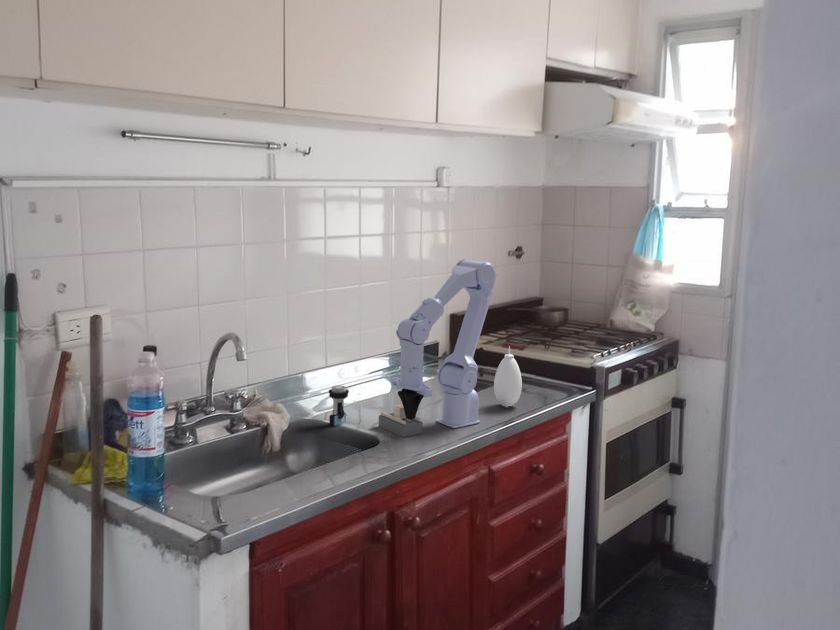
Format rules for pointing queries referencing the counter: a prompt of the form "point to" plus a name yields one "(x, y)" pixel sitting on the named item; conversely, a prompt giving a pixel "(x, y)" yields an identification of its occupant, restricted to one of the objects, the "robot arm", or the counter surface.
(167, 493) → the counter surface
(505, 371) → the air blower bulb
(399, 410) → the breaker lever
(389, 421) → the grey shallow tray
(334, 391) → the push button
